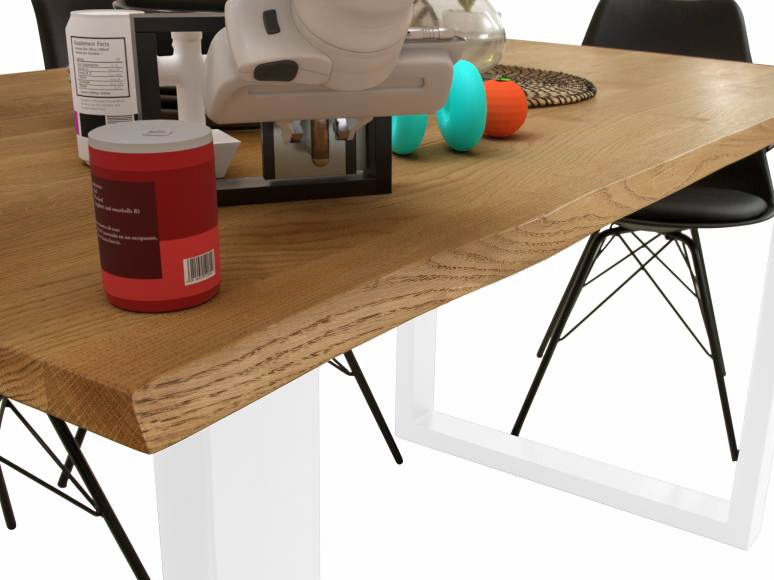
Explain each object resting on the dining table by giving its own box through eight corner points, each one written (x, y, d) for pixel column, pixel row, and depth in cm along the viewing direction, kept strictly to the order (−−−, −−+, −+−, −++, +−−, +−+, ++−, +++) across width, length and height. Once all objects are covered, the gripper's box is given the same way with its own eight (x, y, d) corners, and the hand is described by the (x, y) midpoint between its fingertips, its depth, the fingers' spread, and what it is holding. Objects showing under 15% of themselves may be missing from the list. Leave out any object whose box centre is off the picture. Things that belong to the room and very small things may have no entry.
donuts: (375, 145, 115) (375, 56, 112) (457, 141, 119) (459, 54, 115) (401, 163, 107) (402, 67, 103) (489, 158, 110) (492, 65, 106)
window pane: (274, 191, 87) (268, 38, 82) (262, 178, 91) (256, 32, 87) (370, 184, 90) (369, 36, 85) (354, 172, 94) (352, 31, 90)
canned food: (224, 272, 72) (215, 118, 68) (219, 311, 65) (209, 141, 61) (112, 276, 71) (97, 119, 67) (95, 317, 63) (76, 143, 60)
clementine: (487, 127, 127) (489, 70, 125) (538, 133, 124) (541, 75, 122) (460, 138, 120) (461, 78, 118) (513, 144, 118) (516, 82, 115)
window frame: (150, 211, 87) (133, 17, 81) (145, 200, 90) (129, 13, 85) (391, 193, 95) (392, 14, 89) (378, 183, 98) (378, 11, 93)
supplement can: (66, 159, 105) (50, 10, 100) (140, 149, 110) (128, 8, 105) (100, 173, 100) (85, 16, 94) (176, 162, 105) (165, 13, 100)
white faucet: (253, 177, 99) (246, 20, 94) (157, 187, 95) (144, 22, 90) (229, 163, 105) (221, 14, 100) (138, 171, 101) (125, 16, 96)
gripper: (462, -3, 81) (419, 101, 93) (204, -2, 74) (193, 110, 86) (482, 61, 79) (435, 158, 90) (218, 68, 71) (205, 173, 83)
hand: (316, 135), depth 88 cm, fingers open, 3 cm apart
